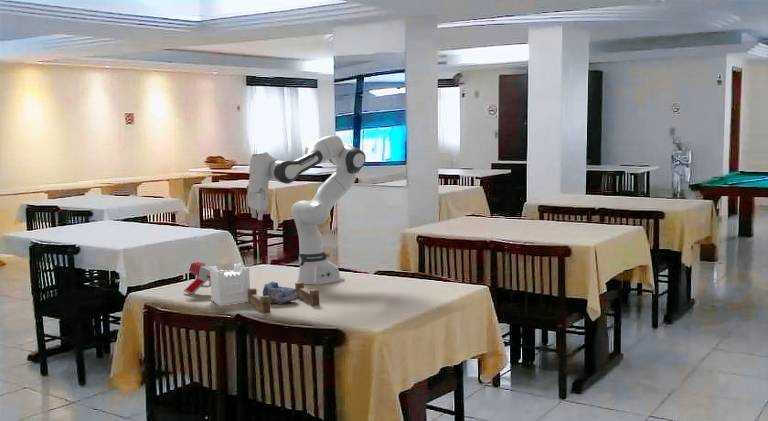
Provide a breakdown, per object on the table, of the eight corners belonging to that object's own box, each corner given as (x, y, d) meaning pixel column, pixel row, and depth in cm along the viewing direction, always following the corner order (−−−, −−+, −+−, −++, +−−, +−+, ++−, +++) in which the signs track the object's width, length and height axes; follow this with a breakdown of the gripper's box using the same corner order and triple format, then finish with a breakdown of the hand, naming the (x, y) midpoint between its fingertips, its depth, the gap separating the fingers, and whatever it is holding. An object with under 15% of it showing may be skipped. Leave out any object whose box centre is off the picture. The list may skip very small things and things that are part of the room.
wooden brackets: (302, 296, 344) (302, 282, 343) (319, 304, 326) (319, 289, 325) (248, 303, 333) (247, 288, 332) (262, 313, 315) (262, 297, 315)
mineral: (259, 282, 332) (275, 277, 340) (259, 303, 334) (275, 297, 342) (285, 289, 324) (300, 283, 332) (285, 311, 326) (300, 304, 334)
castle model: (219, 306, 330) (217, 271, 328) (210, 300, 343) (208, 266, 341) (251, 302, 336) (249, 267, 335) (242, 296, 349) (240, 263, 347)
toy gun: (235, 315, 350) (245, 285, 347) (180, 292, 355) (190, 261, 352) (241, 312, 357) (251, 282, 354) (187, 288, 361) (197, 259, 359)
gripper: (272, 190, 342) (270, 221, 343) (258, 186, 361) (257, 216, 362) (258, 189, 340) (256, 221, 341) (245, 186, 358) (244, 216, 359)
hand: (257, 218), depth 351 cm, fingers open, 8 cm apart
